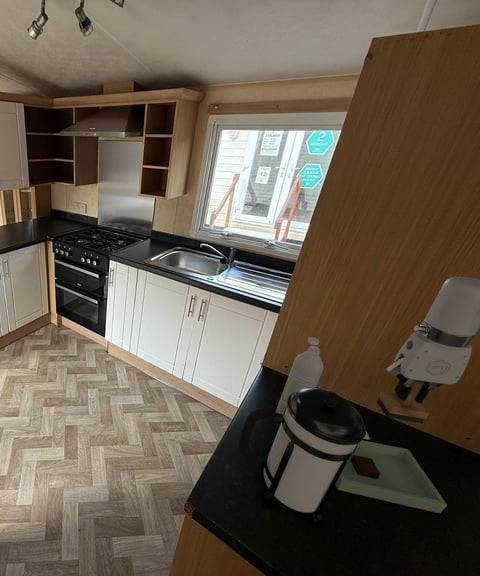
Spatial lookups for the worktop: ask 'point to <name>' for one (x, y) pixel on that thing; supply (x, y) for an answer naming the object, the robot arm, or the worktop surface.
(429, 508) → the tray
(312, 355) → the water bottle
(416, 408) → the brush
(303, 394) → the coffee press
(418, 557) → the worktop surface
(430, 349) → the robot arm
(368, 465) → the brown square block
